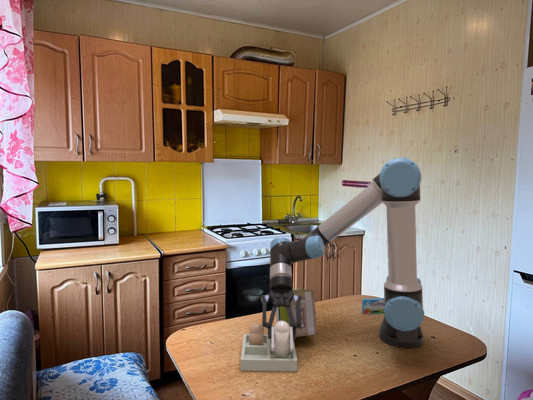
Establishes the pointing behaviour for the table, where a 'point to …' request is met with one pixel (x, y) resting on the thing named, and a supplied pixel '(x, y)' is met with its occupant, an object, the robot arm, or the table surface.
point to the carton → (264, 353)
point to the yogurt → (373, 306)
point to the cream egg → (281, 339)
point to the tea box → (306, 313)
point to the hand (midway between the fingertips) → (282, 349)
